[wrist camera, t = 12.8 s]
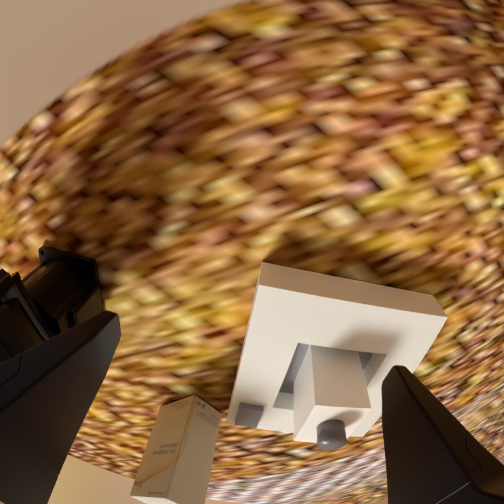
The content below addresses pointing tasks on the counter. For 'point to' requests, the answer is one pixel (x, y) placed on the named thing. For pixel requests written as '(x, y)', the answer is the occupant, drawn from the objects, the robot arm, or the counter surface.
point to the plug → (329, 397)
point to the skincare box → (178, 454)
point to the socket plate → (324, 339)
